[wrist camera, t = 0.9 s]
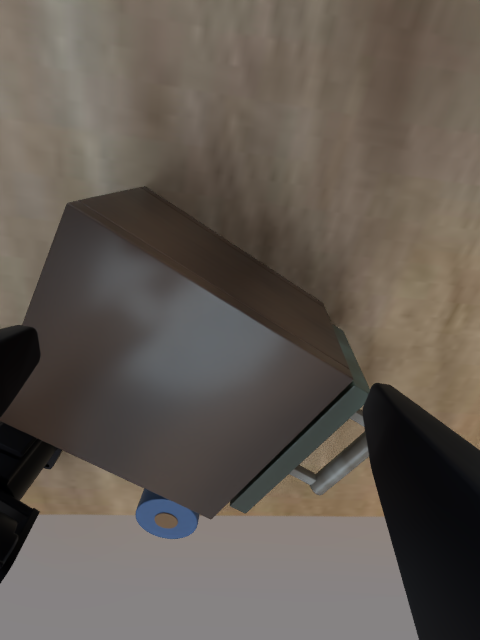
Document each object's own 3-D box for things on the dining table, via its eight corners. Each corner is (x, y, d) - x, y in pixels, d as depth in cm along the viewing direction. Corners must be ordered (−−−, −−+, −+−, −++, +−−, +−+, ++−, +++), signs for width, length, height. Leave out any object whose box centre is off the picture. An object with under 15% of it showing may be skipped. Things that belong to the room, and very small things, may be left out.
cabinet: (323, 303, 22) (354, 380, 14) (226, 418, 27) (211, 520, 19) (144, 185, 20) (66, 201, 12) (74, 336, 25) (-13, 415, 17)
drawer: (397, 365, 23) (445, 440, 17) (297, 458, 27) (306, 543, 21) (181, 226, 20) (143, 255, 14) (109, 357, 24) (57, 423, 18)
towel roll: (192, 485, 31) (178, 547, 26) (148, 464, 30) (124, 524, 25) (218, 457, 29) (208, 518, 24) (171, 433, 28) (151, 491, 23)
